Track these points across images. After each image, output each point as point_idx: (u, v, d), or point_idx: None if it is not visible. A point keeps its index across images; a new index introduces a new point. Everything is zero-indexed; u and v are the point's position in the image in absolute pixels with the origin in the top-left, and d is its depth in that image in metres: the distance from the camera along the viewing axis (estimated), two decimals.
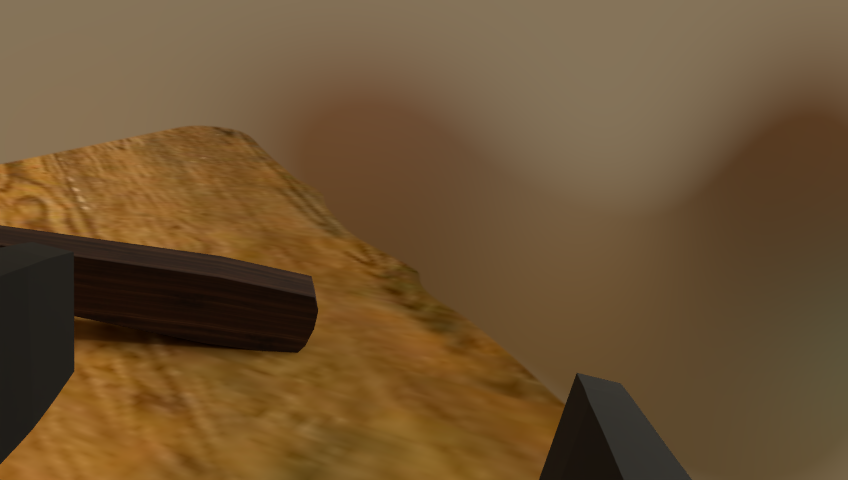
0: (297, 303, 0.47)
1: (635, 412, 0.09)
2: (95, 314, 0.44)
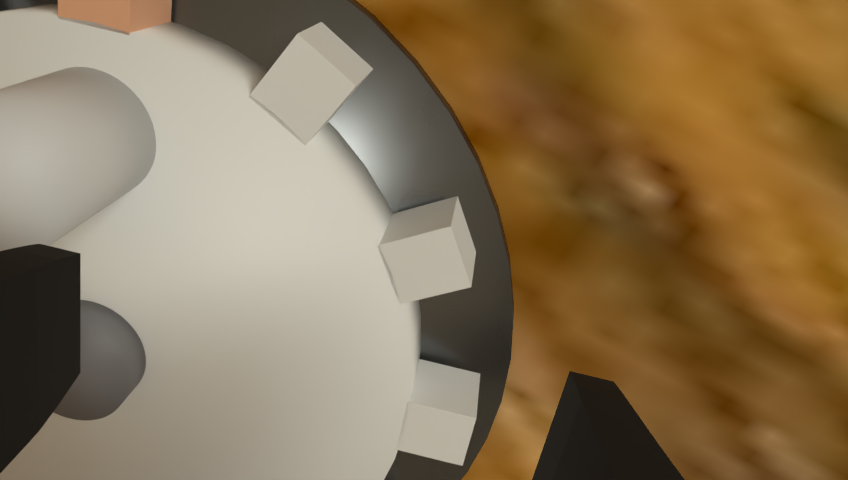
0: None
1: (628, 409, 0.09)
2: None
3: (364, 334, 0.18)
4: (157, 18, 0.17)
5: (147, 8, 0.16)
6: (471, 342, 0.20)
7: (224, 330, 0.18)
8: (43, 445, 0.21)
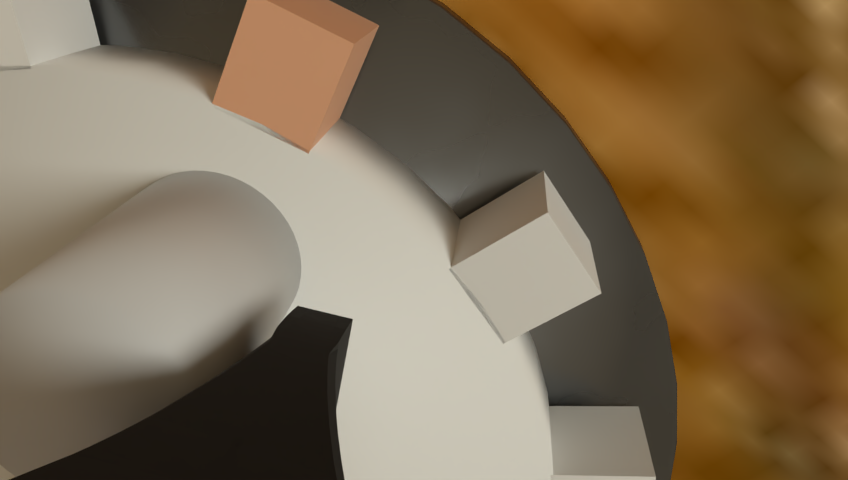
0: None
1: (324, 337, 0.09)
2: None
3: None
4: (333, 120, 0.12)
5: (332, 113, 0.11)
6: None
7: None
8: None
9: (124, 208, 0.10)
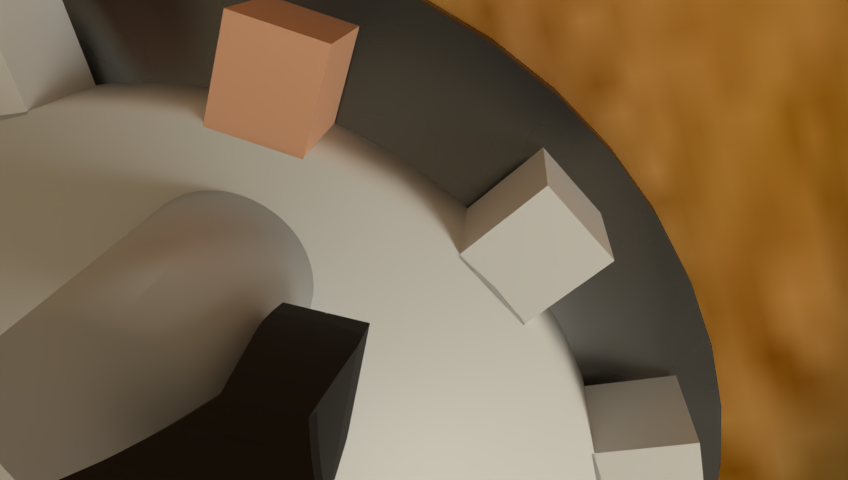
0: None
1: (307, 332, 0.09)
2: None
3: None
4: (326, 125, 0.12)
5: (322, 117, 0.11)
6: None
7: None
8: None
9: (128, 235, 0.10)
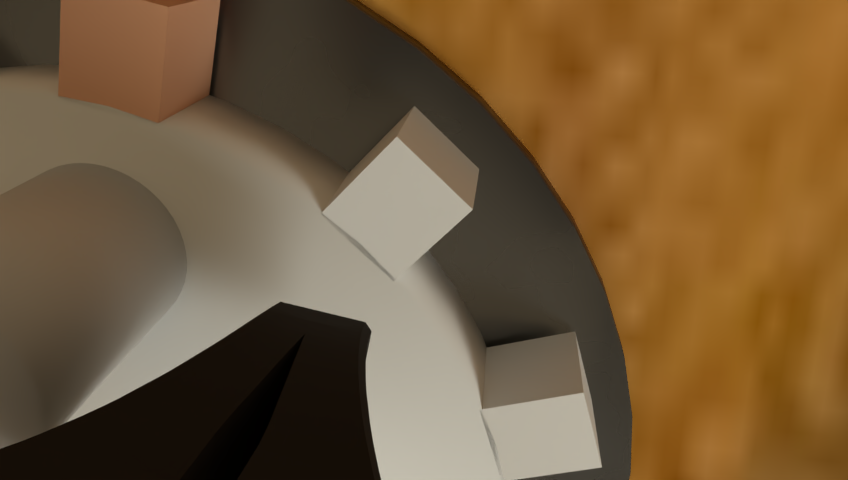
0: None
1: (352, 343, 0.09)
2: None
3: None
4: (193, 95, 0.12)
5: (182, 85, 0.12)
6: None
7: None
8: None
9: None
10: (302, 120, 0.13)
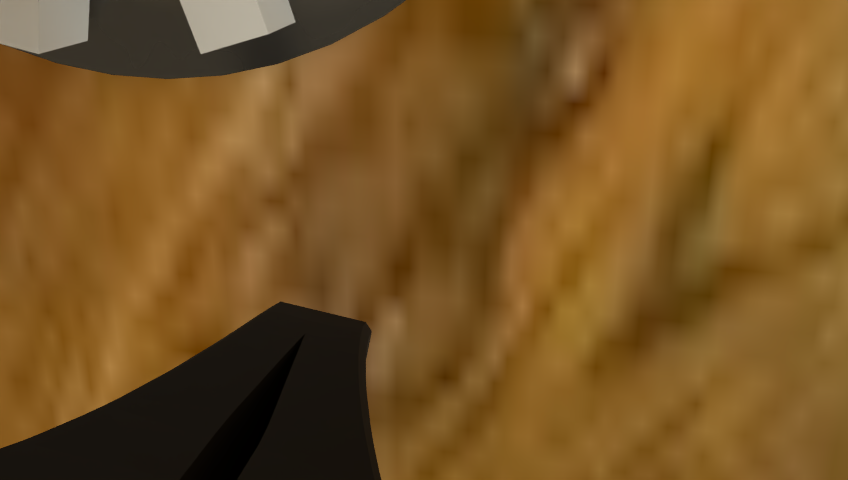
0: None
1: (352, 343, 0.09)
2: None
3: None
4: None
5: None
6: None
7: None
8: None
9: None
10: None
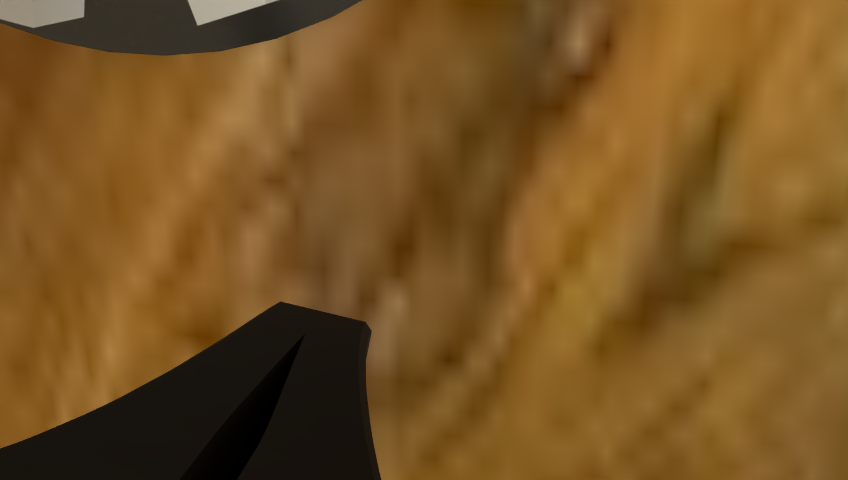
0: None
1: (352, 343, 0.09)
2: None
3: None
4: None
5: None
6: None
7: None
8: None
9: None
10: None
